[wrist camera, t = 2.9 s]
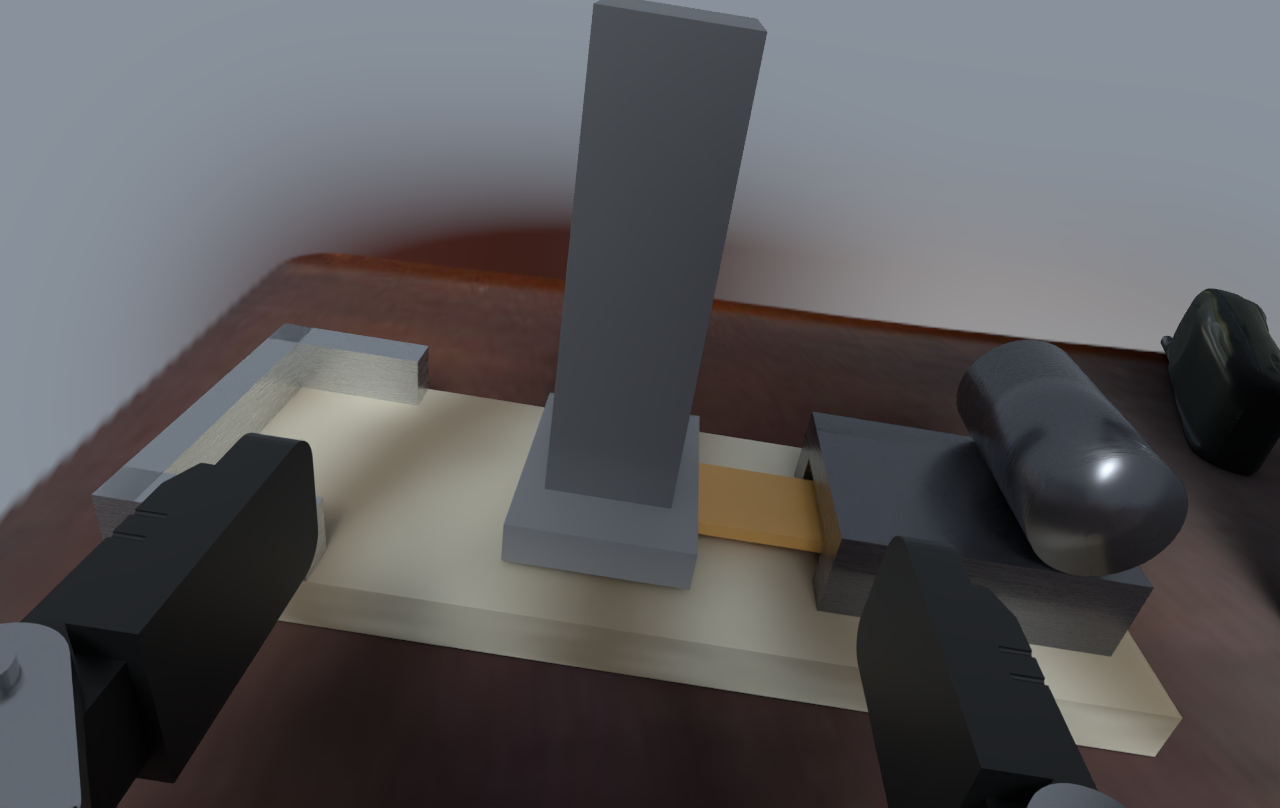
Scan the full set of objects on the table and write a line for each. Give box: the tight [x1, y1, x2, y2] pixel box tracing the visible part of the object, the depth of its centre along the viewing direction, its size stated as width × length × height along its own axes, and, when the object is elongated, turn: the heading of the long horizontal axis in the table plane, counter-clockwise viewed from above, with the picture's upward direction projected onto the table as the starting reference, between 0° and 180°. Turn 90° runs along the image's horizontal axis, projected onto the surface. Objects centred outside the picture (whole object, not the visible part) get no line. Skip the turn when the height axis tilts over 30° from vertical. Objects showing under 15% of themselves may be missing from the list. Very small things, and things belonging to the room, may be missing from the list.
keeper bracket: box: [92, 324, 429, 581], centre depth 24 cm, size 5×10×2 cm, turn 176°
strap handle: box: [501, 0, 826, 590], centre depth 21 cm, size 17×7×13 cm, turn 86°
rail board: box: [259, 387, 1182, 757], centre depth 25 cm, size 27×10×2 cm, turn 86°
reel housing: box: [794, 340, 1188, 657], centre depth 23 cm, size 8×6×6 cm
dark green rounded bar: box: [1161, 289, 1280, 475], centre depth 40 cm, size 5×3×15 cm
